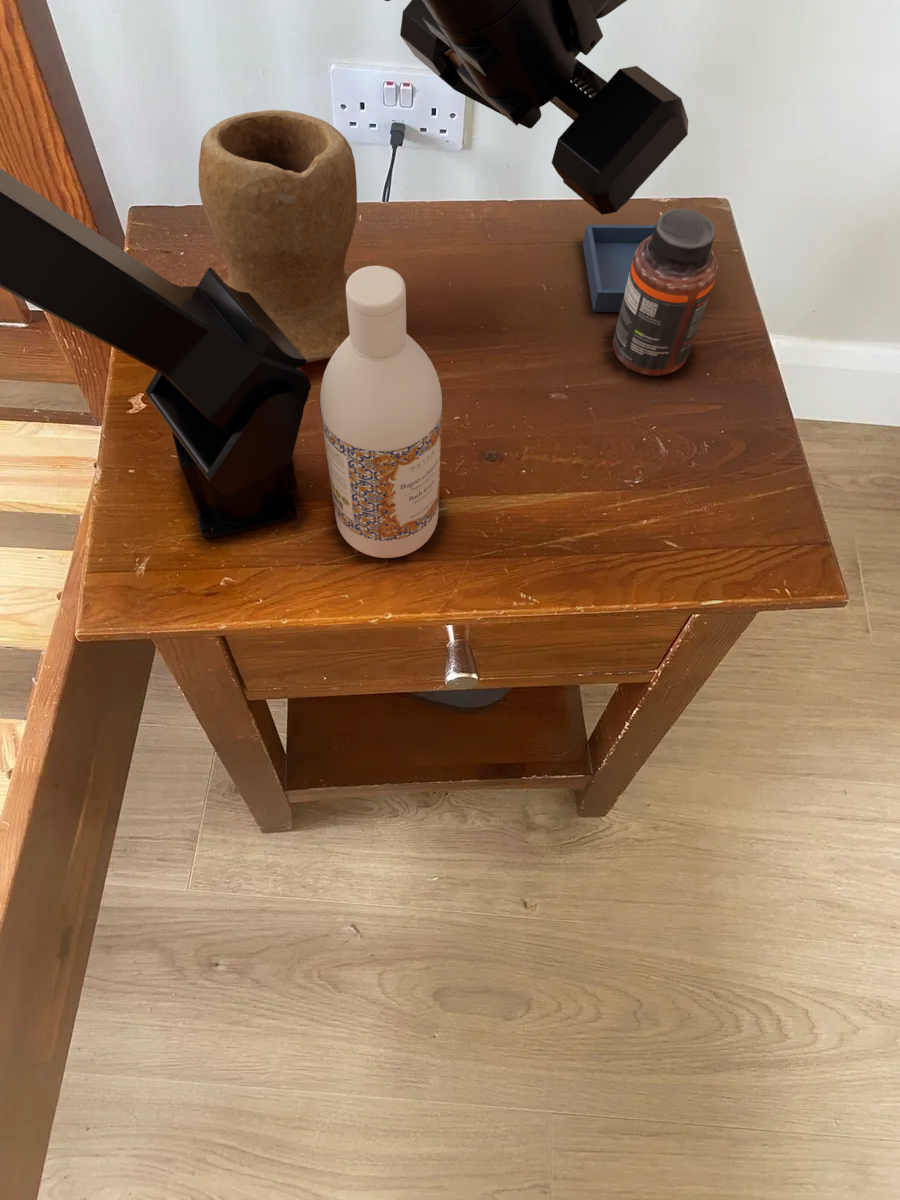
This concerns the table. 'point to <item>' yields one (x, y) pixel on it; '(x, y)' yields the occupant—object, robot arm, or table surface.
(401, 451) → the bath foam
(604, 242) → the tray
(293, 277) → the stone cup
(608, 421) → the table surface
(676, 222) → the supplement bottle
